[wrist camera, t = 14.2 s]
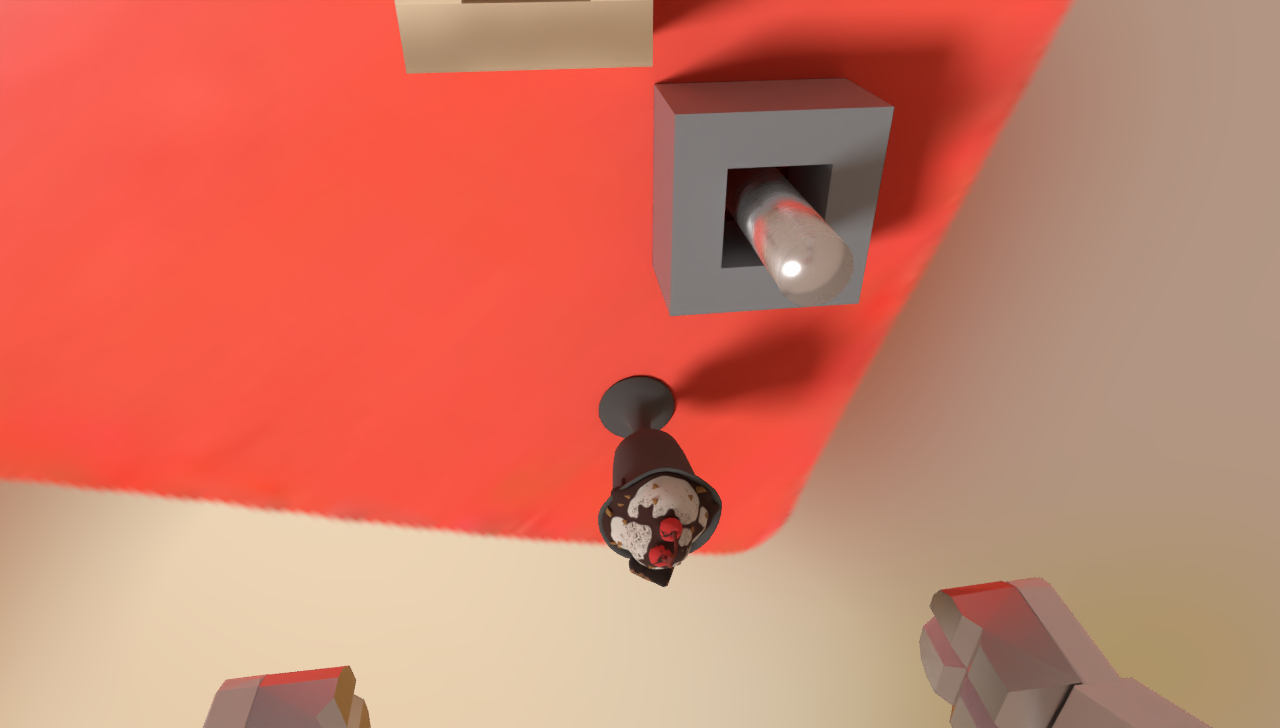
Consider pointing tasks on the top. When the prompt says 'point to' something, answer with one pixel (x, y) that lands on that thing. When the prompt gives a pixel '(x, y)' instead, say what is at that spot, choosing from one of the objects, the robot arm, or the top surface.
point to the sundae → (652, 484)
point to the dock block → (746, 138)
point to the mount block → (524, 34)
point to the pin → (788, 236)
